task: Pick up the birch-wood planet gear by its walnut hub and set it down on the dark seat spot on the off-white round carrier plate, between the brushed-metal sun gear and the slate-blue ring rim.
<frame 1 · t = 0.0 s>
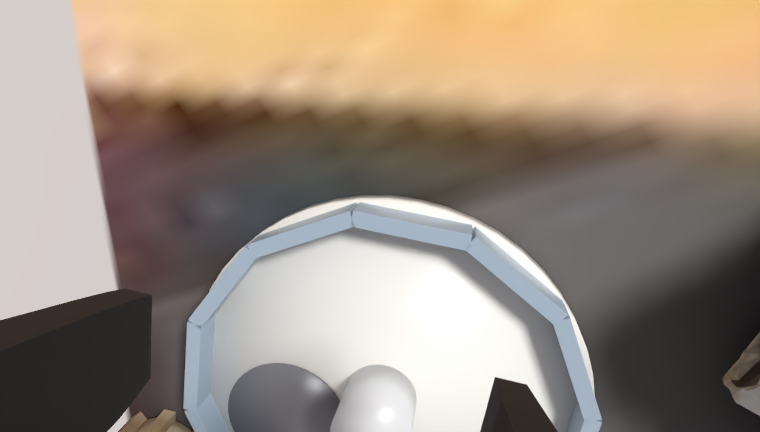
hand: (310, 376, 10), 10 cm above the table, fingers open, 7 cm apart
carrier plate: (384, 381, 22), on the table
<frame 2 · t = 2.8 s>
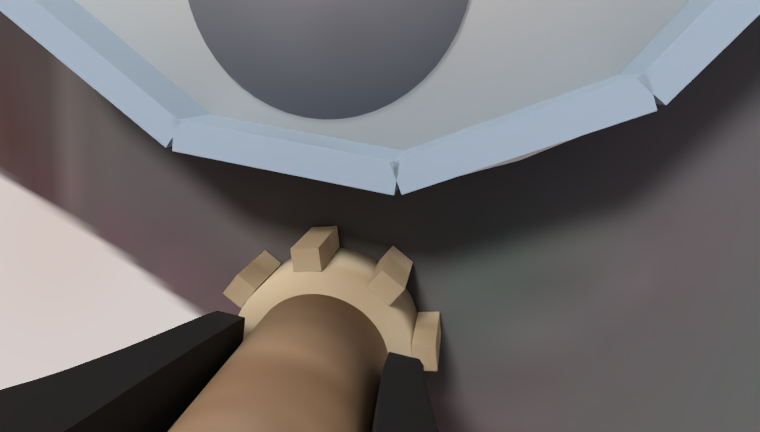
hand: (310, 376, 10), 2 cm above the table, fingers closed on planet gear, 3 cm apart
planet gear: (337, 324, 12), on the table, touching gripper
when the fingers open (4 cm above the table, at t = 5.7 s): planet gear stays where it is, resting on carrier plate.
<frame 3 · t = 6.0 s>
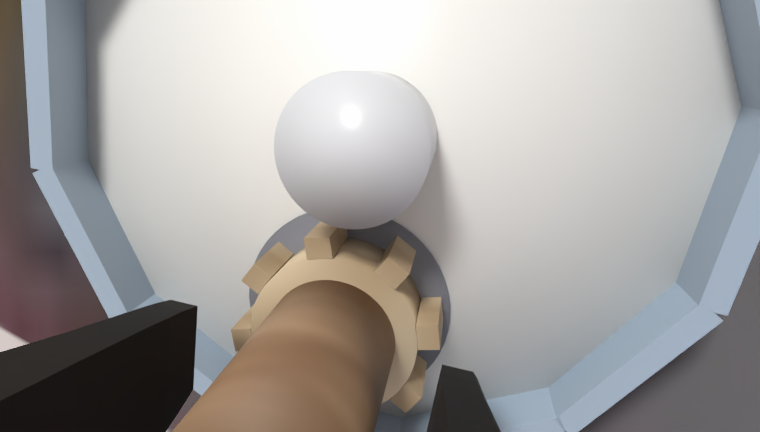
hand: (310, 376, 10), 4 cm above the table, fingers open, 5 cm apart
planet gear: (346, 310, 13), point 1 cm above the table, touching carrier plate
carrier plate: (380, 132, 13), on the table
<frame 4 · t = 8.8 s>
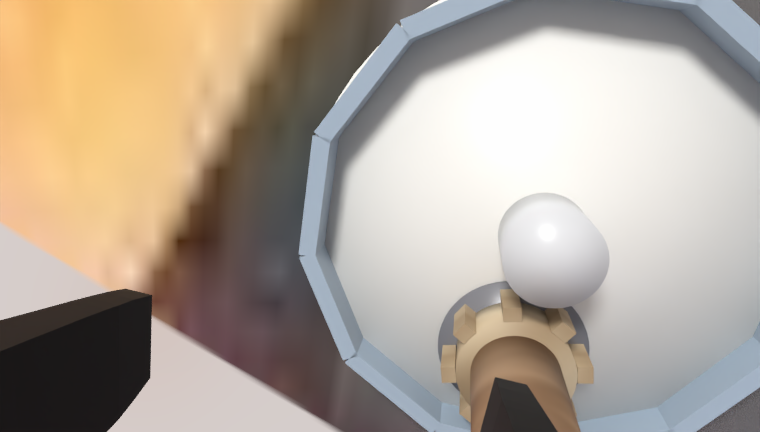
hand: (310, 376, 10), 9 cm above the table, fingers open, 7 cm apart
planet gear: (511, 351, 18), point 1 cm above the table, touching carrier plate
carrier plate: (538, 226, 18), on the table
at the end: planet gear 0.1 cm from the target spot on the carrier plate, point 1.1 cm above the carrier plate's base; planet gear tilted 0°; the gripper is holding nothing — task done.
